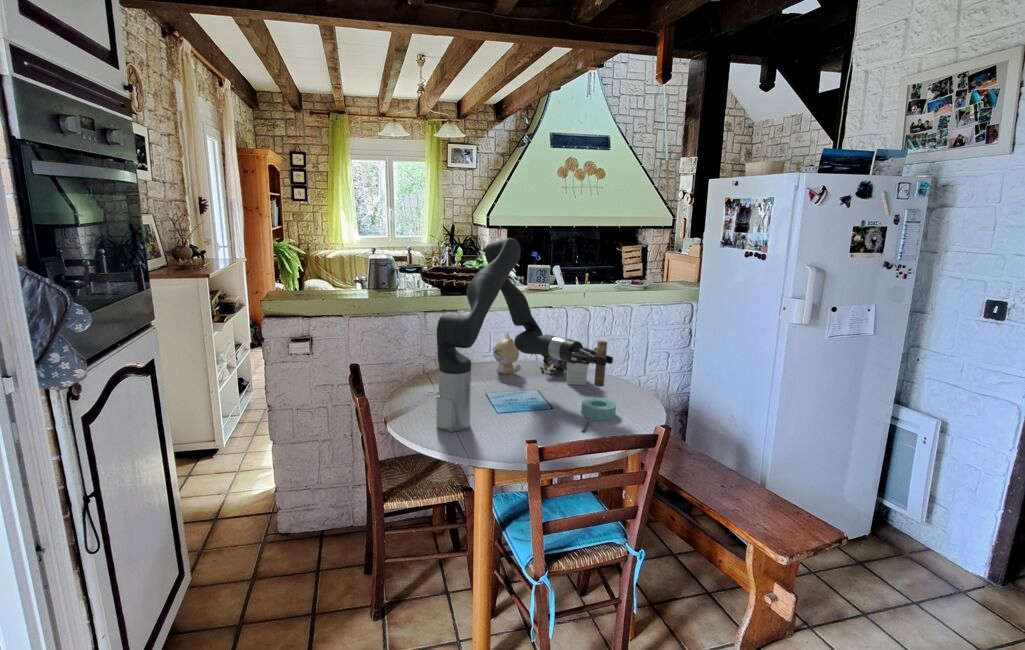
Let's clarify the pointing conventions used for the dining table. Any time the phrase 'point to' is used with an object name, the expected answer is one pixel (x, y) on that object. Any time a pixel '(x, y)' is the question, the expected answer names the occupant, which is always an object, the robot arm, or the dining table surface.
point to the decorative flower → (557, 364)
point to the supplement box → (576, 374)
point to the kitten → (506, 355)
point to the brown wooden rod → (599, 368)
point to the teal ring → (598, 408)
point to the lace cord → (585, 426)
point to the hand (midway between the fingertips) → (608, 361)
